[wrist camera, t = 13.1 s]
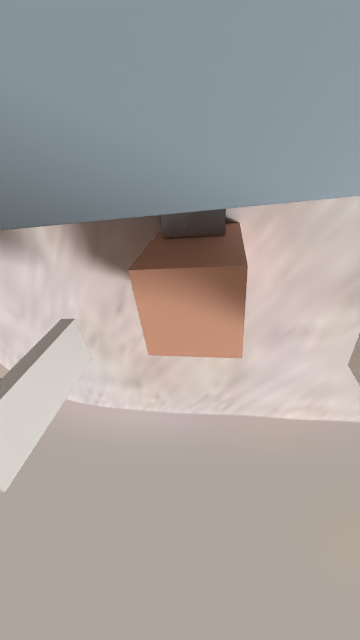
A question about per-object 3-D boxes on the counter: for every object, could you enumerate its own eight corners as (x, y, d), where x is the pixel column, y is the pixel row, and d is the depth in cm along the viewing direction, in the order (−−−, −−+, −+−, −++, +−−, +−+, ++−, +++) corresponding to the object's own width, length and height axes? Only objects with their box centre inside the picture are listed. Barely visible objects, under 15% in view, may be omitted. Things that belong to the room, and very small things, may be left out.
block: (162, 228, 16) (128, 269, 10) (239, 222, 15) (247, 265, 9) (171, 293, 19) (148, 355, 13) (236, 292, 18) (241, 358, 12)
